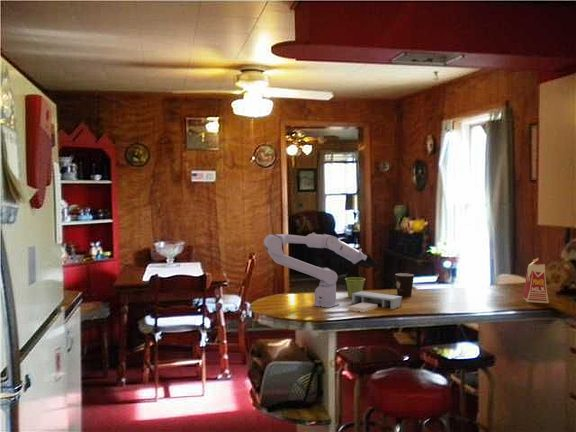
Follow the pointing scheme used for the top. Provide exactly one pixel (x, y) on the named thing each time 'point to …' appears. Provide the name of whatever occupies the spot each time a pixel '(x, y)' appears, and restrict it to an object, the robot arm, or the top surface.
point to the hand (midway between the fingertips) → (373, 266)
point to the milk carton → (536, 283)
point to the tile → (363, 307)
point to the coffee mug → (404, 284)
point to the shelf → (377, 299)
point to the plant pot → (354, 285)
